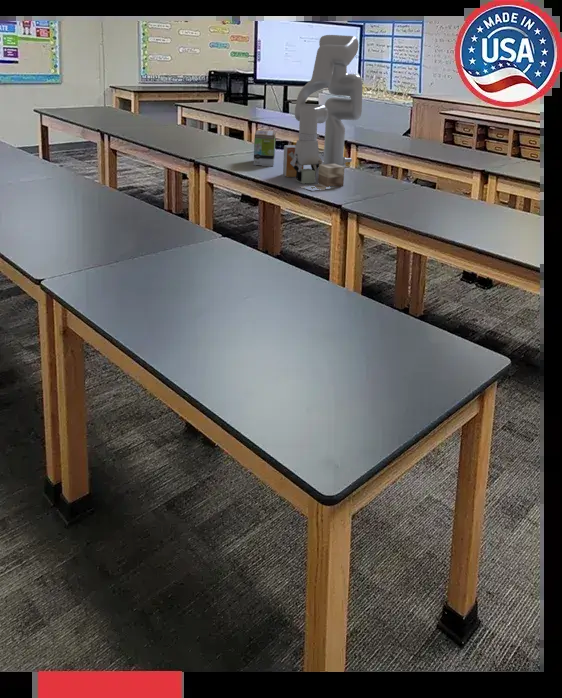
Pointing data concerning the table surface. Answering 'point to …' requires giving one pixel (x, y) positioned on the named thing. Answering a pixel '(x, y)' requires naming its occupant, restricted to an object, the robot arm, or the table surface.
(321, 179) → the wood-grain cube
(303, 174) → the sage brick
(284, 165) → the small box
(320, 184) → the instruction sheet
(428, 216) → the table surface
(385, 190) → the table surface
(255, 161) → the tea box
